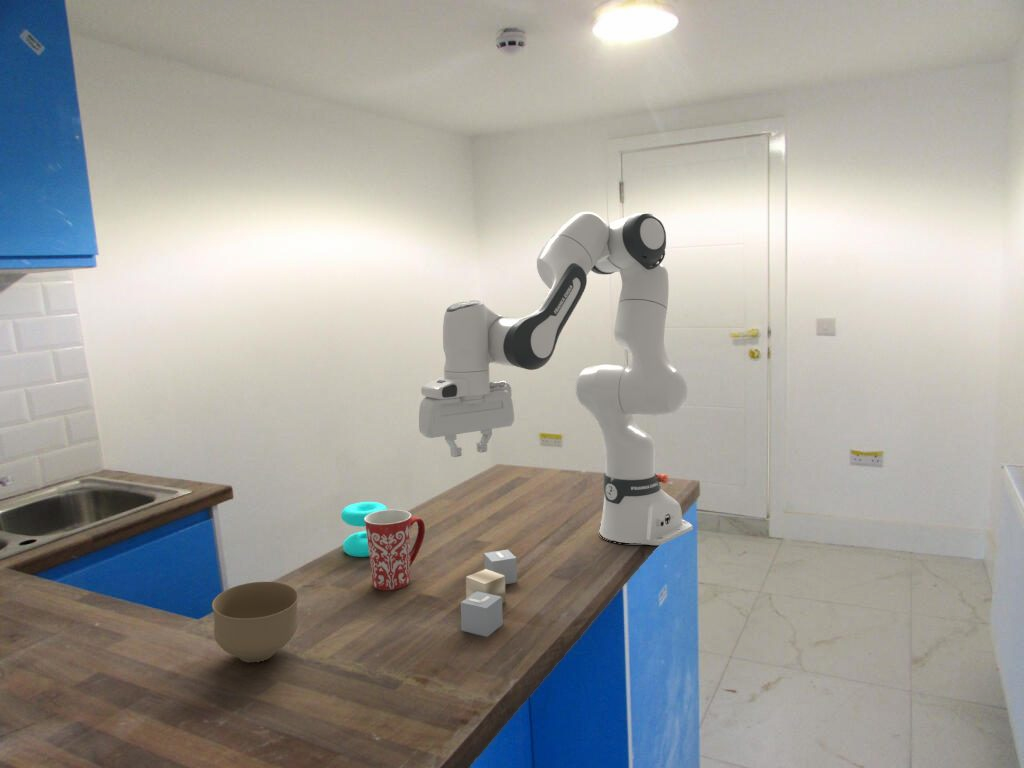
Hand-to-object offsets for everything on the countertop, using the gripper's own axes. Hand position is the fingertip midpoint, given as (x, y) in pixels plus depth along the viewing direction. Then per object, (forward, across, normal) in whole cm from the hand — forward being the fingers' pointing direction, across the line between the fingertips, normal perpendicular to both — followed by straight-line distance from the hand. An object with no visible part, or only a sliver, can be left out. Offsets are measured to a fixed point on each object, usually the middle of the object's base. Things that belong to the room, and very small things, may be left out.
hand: (469, 454), depth 143 cm
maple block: (+24, +6, +14) cm, 29 cm away
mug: (+24, +14, -5) cm, 29 cm away
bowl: (+24, +45, +9) cm, 52 cm away
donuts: (+24, +12, -25) cm, 37 cm away
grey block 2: (+24, -2, +7) cm, 25 cm away
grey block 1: (+24, +12, +22) cm, 35 cm away
